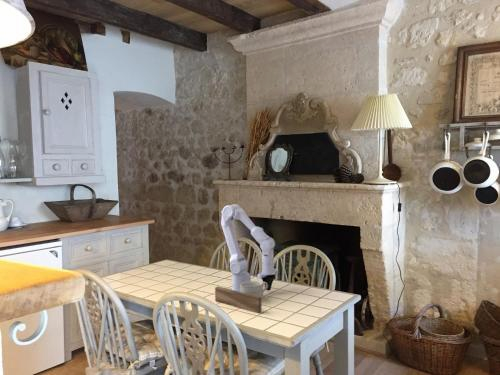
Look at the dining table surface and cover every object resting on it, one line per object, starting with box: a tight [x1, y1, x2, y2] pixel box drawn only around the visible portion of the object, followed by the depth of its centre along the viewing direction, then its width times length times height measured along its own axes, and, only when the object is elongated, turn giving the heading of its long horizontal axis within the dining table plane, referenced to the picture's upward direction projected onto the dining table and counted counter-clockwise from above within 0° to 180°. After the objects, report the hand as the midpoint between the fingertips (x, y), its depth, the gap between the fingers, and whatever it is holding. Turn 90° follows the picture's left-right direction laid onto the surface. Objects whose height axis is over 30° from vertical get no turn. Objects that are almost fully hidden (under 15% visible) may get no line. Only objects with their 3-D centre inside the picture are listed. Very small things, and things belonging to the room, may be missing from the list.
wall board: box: [214, 286, 262, 314], centre depth 178 cm, size 2×26×7 cm, turn 51°
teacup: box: [240, 280, 268, 298], centre depth 188 cm, size 14×11×8 cm
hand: (268, 290), depth 196 cm, fingers closed
